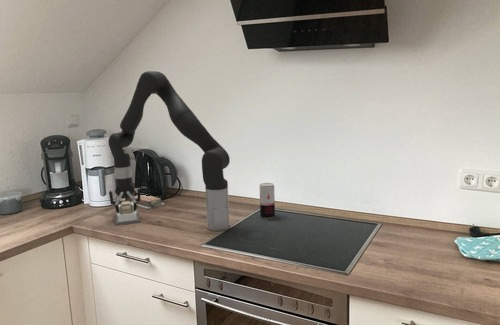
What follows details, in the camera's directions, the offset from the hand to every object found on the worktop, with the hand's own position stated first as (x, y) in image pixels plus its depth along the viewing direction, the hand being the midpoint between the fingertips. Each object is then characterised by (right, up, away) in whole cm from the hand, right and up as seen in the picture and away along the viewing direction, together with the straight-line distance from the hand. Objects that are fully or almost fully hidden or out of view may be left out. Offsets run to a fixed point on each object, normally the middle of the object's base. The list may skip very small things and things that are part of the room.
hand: (126, 211), depth 184 cm
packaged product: (+4, 0, +21) cm, 21 cm away
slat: (0, -2, 0) cm, 2 cm away
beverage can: (+65, -2, -4) cm, 65 cm away
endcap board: (0, -3, 0) cm, 3 cm away
